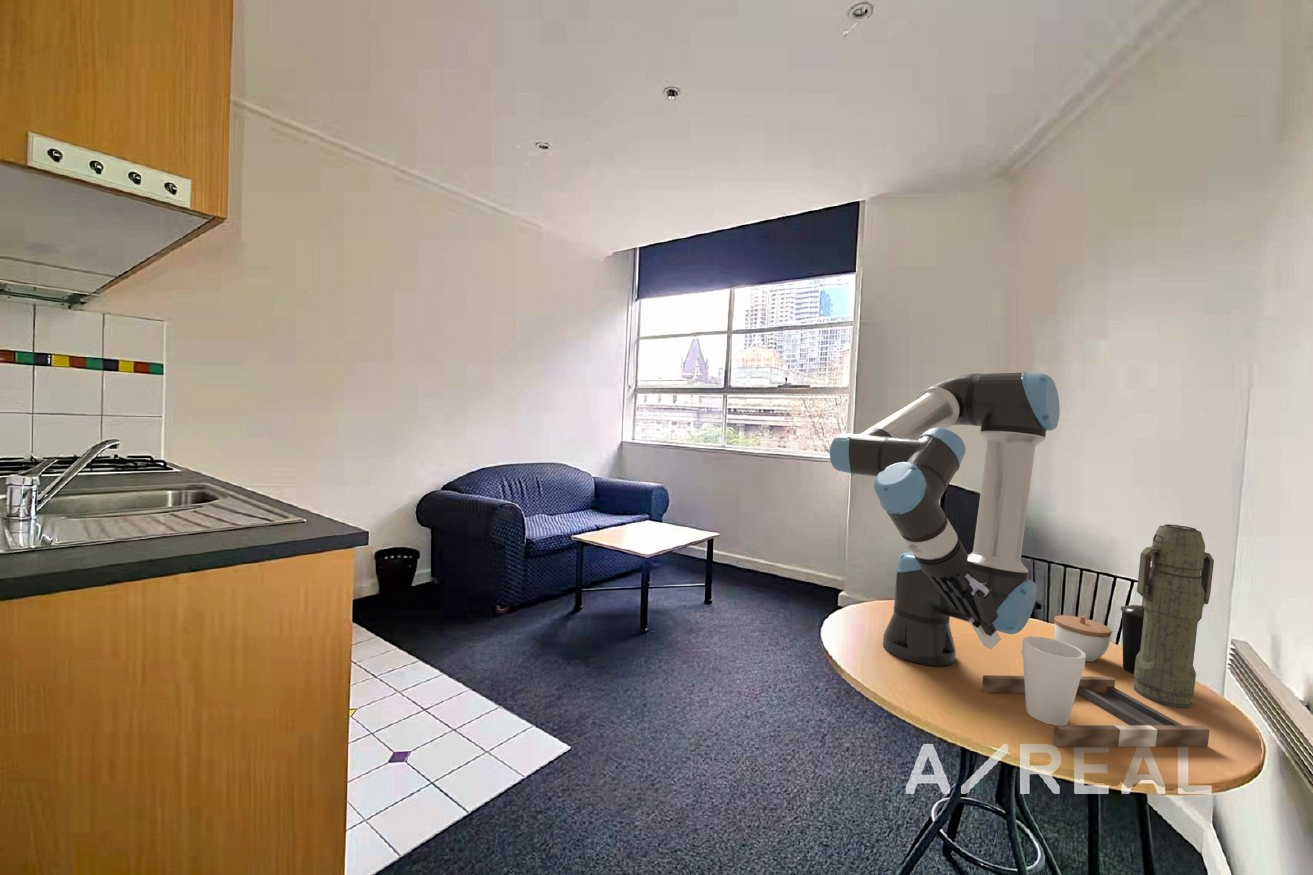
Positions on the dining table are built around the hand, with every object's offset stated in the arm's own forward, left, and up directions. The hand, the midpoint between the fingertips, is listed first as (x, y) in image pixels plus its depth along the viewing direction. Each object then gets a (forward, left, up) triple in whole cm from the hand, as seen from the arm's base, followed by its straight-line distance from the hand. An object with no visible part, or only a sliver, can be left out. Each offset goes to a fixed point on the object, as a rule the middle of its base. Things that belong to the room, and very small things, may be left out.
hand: (992, 642), depth 96 cm
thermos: (+40, +24, -15) cm, 49 cm away
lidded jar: (+33, +41, -15) cm, 55 cm away
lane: (+20, +9, -14) cm, 26 cm away
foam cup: (+12, +7, -15) cm, 20 cm away
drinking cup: (+42, +36, -15) cm, 57 cm away
